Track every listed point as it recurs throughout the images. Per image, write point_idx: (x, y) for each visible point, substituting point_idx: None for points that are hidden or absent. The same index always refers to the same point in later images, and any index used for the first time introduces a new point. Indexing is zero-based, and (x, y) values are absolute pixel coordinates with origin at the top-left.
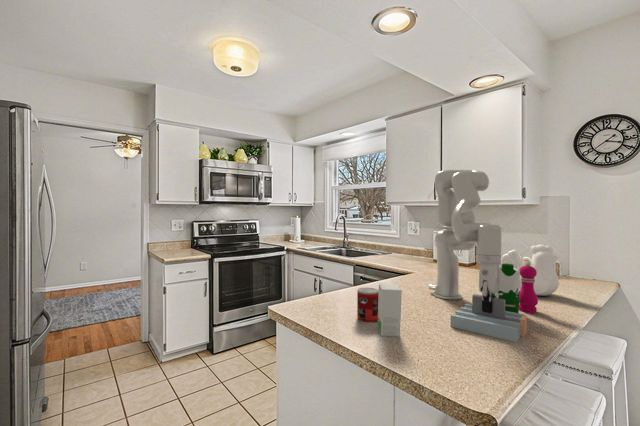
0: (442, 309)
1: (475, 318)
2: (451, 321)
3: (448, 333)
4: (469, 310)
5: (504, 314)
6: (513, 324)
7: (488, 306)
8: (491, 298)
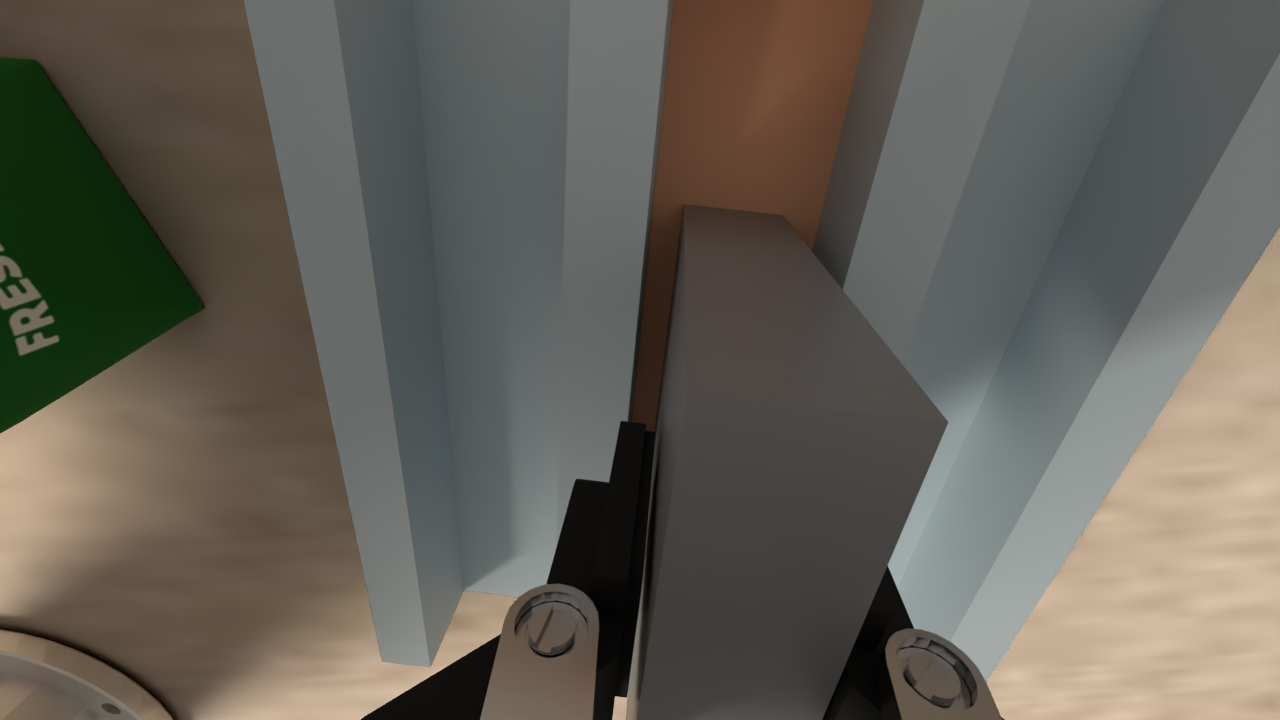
0: None
1: None
2: None
3: (1104, 619)
4: None
5: (746, 256)
6: (996, 67)
7: (887, 573)
8: (905, 710)
